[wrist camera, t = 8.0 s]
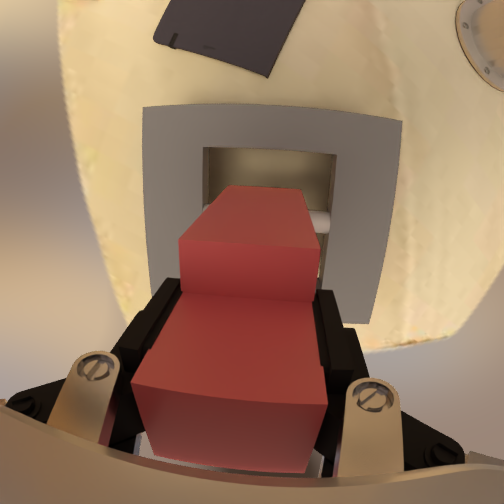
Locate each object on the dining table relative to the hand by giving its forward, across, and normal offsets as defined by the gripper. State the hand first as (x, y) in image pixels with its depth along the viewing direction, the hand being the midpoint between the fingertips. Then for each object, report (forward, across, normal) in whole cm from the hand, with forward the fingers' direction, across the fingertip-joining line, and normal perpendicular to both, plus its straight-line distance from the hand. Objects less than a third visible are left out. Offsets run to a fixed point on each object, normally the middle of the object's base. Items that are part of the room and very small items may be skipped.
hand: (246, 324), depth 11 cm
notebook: (+23, +3, -24) cm, 33 cm away
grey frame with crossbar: (+22, 0, 0) cm, 22 cm away
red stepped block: (+8, 0, 0) cm, 8 cm away
